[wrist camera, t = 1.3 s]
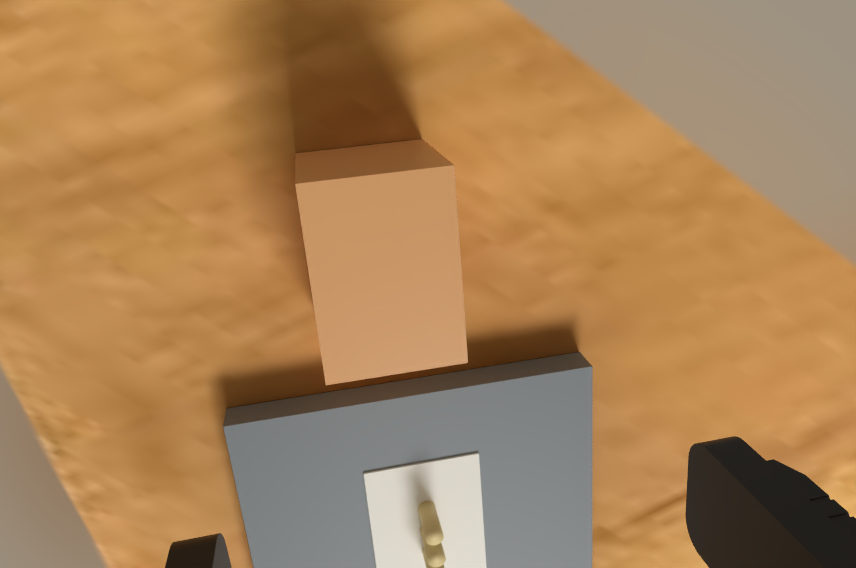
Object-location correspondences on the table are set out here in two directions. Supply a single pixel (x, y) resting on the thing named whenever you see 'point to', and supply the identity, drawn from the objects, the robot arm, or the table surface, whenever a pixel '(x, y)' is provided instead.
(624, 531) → the table surface
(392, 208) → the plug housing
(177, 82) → the table surface
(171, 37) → the table surface
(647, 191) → the table surface
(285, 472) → the board
